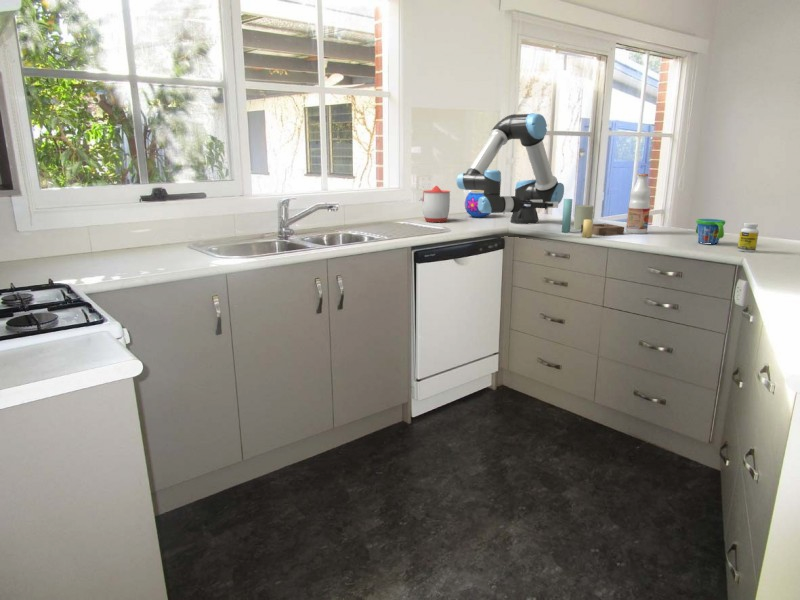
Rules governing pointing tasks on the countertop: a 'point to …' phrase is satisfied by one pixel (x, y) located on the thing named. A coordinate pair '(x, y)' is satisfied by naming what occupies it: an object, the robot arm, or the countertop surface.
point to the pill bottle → (748, 237)
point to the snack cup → (710, 230)
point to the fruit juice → (639, 206)
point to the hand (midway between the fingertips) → (549, 203)
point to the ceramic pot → (474, 204)
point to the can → (582, 214)
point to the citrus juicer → (436, 204)
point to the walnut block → (605, 229)
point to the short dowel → (587, 228)
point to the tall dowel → (566, 215)
